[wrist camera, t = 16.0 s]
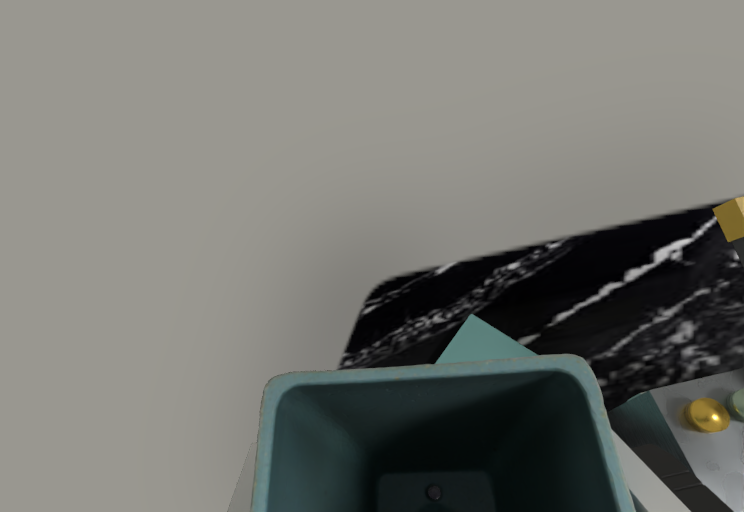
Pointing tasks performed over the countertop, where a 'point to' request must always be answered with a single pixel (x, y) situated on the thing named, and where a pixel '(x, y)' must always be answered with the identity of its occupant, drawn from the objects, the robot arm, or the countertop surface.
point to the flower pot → (439, 440)
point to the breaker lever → (733, 223)
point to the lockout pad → (481, 344)
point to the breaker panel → (693, 429)
